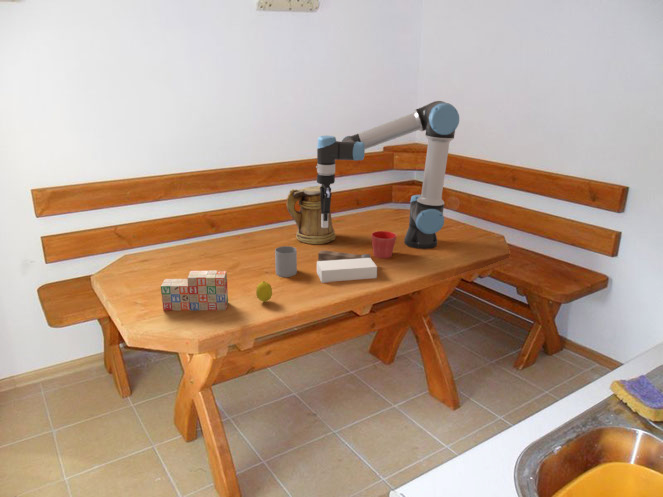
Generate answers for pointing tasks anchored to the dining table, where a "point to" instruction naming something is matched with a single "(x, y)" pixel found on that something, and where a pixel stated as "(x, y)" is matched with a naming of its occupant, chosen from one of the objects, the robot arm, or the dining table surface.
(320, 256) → the folding leg
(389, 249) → the flower pot
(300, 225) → the tankard
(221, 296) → the stack of blocks
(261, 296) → the lemon
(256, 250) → the dining table surface
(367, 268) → the white rectangular box
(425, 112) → the robot arm
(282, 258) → the cup
